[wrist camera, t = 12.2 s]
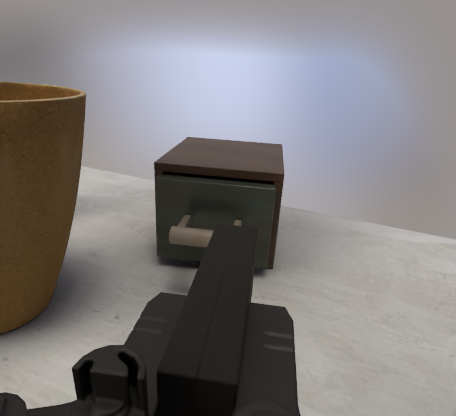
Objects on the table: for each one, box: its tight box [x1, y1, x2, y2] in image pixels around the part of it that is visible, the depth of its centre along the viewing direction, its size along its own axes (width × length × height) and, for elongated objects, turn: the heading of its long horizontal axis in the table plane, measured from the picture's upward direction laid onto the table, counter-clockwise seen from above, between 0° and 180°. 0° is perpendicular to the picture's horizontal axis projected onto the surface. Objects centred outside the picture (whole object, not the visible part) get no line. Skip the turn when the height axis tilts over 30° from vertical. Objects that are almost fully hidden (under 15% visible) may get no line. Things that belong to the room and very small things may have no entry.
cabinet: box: [154, 137, 284, 269], centre depth 37 cm, size 13×12×10 cm
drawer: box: [155, 172, 276, 269], centre depth 34 cm, size 16×10×8 cm, turn 172°
